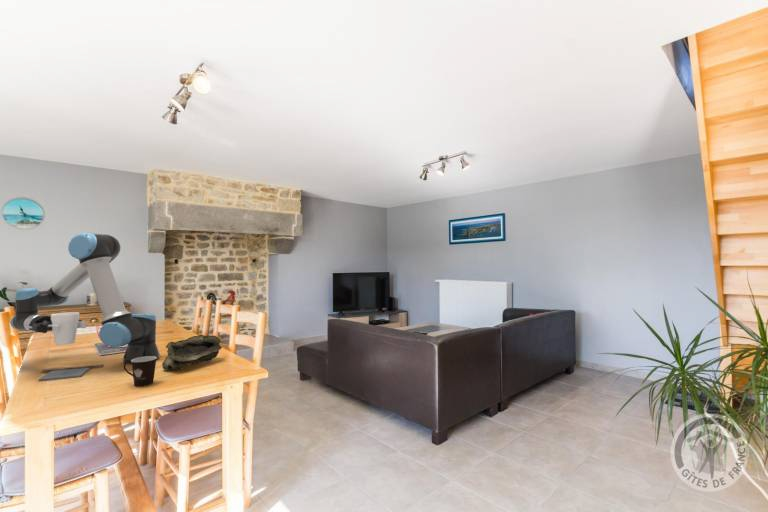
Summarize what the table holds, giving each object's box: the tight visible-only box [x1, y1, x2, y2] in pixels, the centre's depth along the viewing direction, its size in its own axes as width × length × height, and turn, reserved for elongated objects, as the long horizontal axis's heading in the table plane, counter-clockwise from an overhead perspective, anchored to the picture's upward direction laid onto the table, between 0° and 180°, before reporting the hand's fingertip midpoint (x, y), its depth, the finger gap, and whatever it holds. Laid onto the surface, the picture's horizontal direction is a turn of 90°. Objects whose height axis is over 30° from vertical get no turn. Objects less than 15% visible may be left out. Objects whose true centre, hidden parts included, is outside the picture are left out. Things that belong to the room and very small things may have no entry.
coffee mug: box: [123, 356, 157, 388], centre depth 148 cm, size 12×9×10 cm
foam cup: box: [50, 311, 80, 346], centre depth 159 cm, size 10×9×13 cm
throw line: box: [40, 363, 104, 374], centre depth 166 cm, size 22×2×1 cm, turn 113°
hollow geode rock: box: [161, 334, 223, 372], centre depth 175 cm, size 28×13×15 cm
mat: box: [38, 367, 92, 382], centre depth 158 cm, size 14×12×1 cm
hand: (71, 327), depth 158 cm, fingers closed on foam cup, 9 cm apart
